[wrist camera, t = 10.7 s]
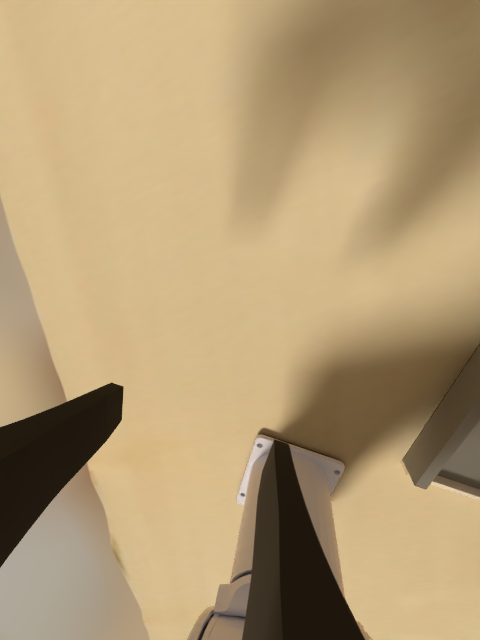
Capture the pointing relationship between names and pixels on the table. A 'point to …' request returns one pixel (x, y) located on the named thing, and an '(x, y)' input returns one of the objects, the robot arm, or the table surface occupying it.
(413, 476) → the grey tray
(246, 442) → the table surface
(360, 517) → the table surface
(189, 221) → the table surface
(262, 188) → the table surface
